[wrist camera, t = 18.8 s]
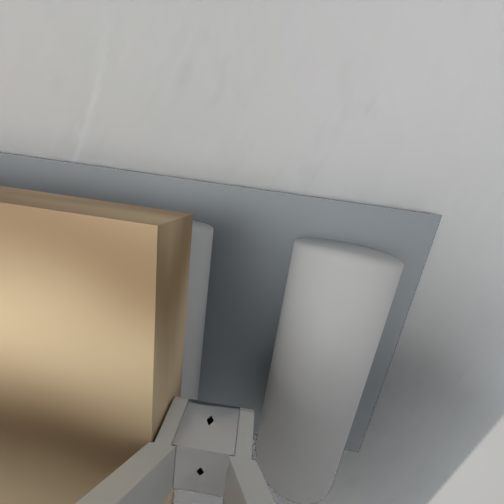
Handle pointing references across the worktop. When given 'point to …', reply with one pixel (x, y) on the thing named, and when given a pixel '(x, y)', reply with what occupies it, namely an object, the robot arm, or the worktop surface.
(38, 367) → the oak slab
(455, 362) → the worktop surface
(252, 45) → the worktop surface
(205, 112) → the worktop surface
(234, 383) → the roller bed
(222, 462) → the robot arm
